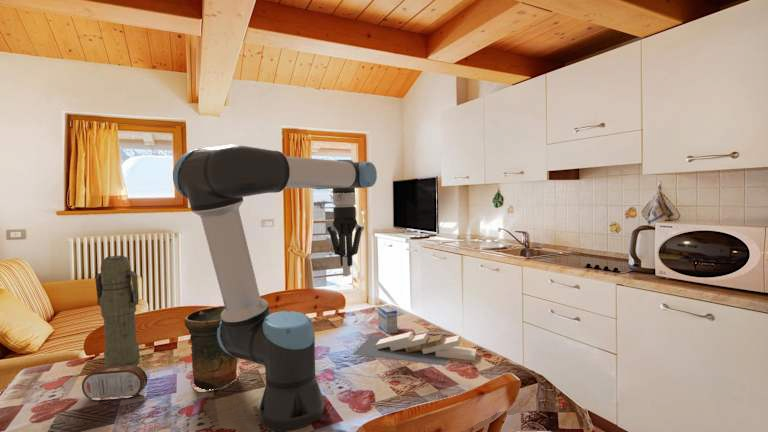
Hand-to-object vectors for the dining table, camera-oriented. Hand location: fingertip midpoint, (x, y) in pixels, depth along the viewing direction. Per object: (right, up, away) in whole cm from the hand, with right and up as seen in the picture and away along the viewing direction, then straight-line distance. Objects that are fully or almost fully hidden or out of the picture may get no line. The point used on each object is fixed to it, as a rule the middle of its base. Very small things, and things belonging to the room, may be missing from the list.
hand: (346, 275), depth 135 cm
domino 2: (+16, -23, -4) cm, 28 cm away
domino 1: (+11, -23, -2) cm, 25 cm away
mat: (+19, -24, -5) cm, 31 cm away
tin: (-58, -28, -30) cm, 72 cm away
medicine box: (+14, -23, +14) cm, 31 cm away
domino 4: (+30, -23, -8) cm, 38 cm away
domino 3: (+26, -23, -7) cm, 35 cm away
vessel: (-35, -27, -22) cm, 49 cm away
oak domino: (+21, -23, -5) cm, 31 cm away
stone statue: (-68, -27, -13) cm, 74 cm away
